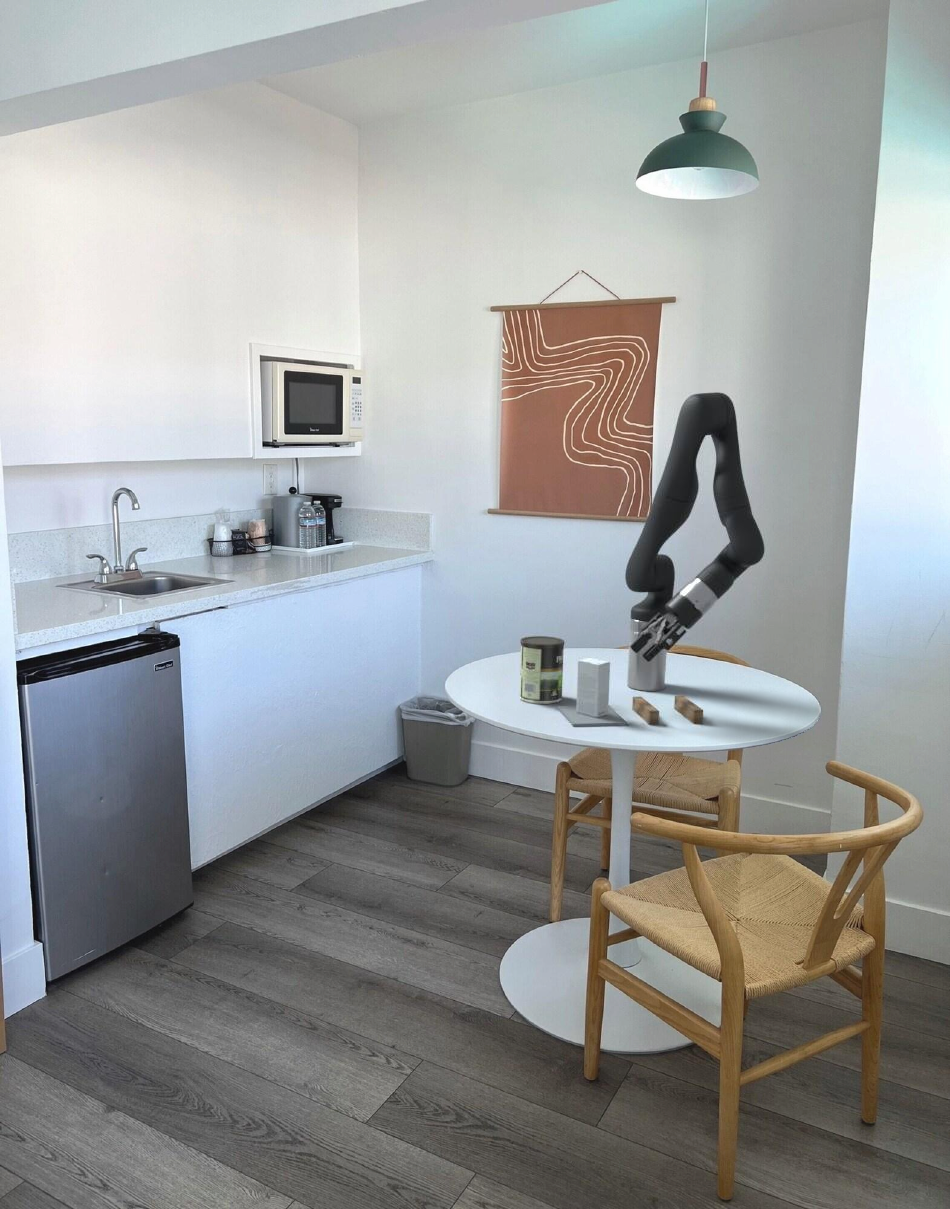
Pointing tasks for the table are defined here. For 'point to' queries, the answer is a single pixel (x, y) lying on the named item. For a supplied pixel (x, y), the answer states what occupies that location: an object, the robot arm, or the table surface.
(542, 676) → the coffee can
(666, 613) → the robot arm
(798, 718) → the table surface
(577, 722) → the mat
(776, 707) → the table surface
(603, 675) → the skincare box
